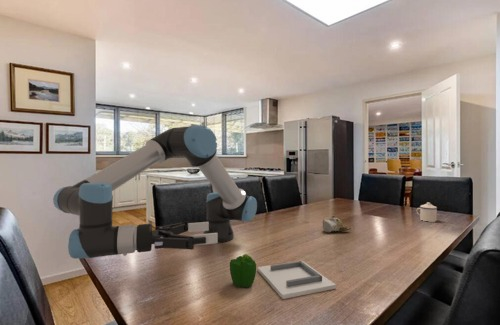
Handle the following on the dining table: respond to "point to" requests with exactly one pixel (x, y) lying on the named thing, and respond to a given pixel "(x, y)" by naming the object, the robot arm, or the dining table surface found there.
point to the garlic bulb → (333, 225)
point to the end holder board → (295, 279)
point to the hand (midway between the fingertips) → (212, 231)
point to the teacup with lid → (428, 212)
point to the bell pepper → (243, 271)
